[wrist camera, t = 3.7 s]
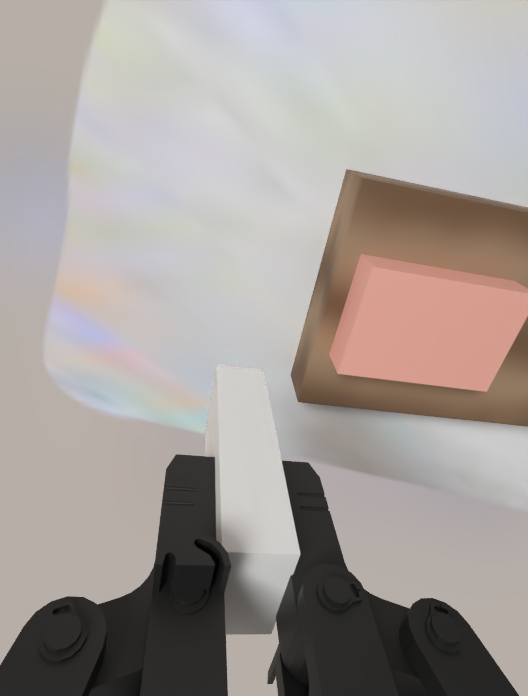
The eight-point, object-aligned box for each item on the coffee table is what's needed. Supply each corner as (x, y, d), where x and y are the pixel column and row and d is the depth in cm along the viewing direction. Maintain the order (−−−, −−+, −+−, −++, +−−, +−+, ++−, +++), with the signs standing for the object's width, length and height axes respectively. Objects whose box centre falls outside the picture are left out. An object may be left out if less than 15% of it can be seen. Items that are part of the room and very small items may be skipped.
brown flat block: (346, 169, 23) (363, 178, 20) (628, 228, 26) (674, 243, 23) (290, 374, 29) (298, 401, 26) (524, 402, 32) (551, 428, 29)
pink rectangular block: (329, 354, 25) (337, 373, 23) (360, 254, 22) (373, 267, 20) (468, 372, 26) (486, 391, 25) (515, 281, 24) (538, 295, 22)
